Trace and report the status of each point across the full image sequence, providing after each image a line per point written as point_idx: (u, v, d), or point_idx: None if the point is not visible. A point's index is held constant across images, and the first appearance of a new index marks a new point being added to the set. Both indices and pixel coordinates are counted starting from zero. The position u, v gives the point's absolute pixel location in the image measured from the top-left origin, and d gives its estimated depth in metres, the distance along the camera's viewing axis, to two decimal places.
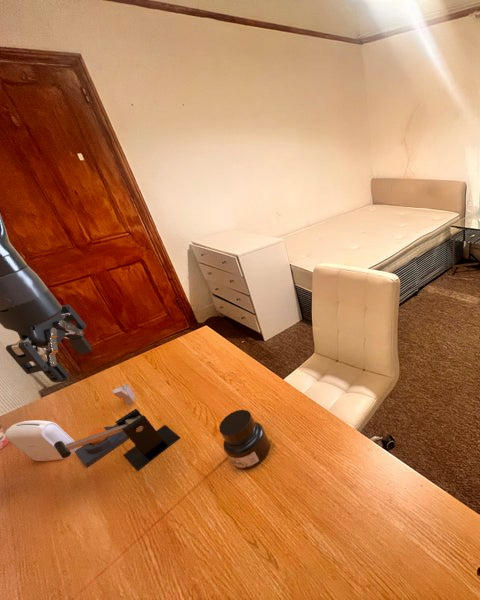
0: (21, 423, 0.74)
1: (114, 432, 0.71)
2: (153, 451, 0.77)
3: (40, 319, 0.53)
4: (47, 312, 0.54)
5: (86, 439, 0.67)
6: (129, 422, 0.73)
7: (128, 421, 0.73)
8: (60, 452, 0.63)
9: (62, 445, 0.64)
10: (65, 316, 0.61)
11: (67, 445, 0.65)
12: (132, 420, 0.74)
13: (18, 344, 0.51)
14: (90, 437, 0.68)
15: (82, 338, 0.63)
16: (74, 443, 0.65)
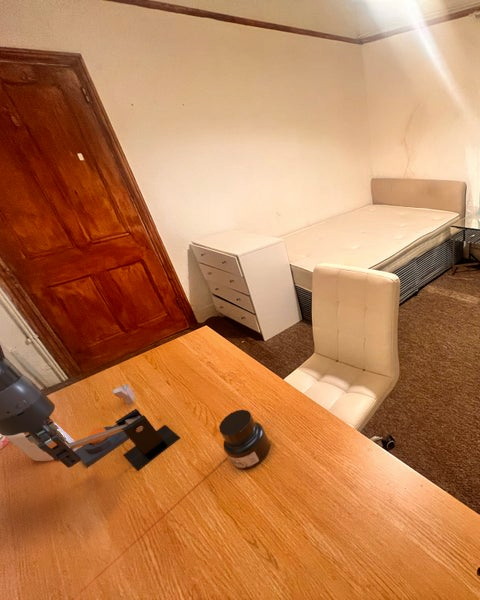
0: None
1: (114, 432, 0.71)
2: (153, 451, 0.77)
3: (49, 412, 0.59)
4: (51, 405, 0.60)
5: (86, 439, 0.67)
6: (129, 422, 0.73)
7: (128, 421, 0.73)
8: None
9: None
10: None
11: None
12: (132, 420, 0.74)
13: (51, 439, 0.57)
14: (90, 437, 0.68)
15: None
16: (74, 443, 0.65)
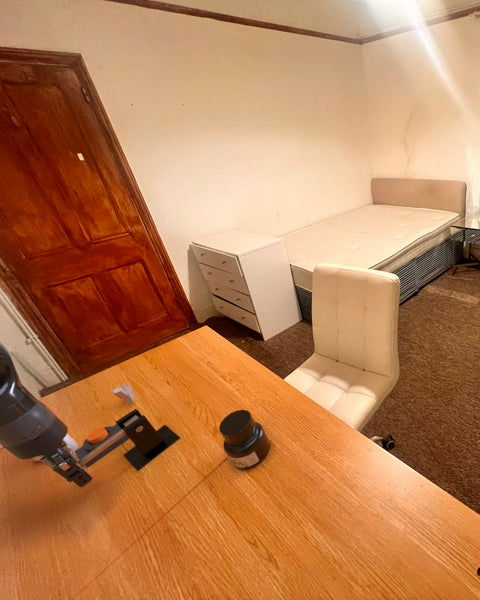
0: None
1: (117, 438, 0.72)
2: (153, 451, 0.77)
3: (62, 435, 0.61)
4: (64, 428, 0.62)
5: (92, 453, 0.68)
6: (127, 425, 0.73)
7: (126, 424, 0.73)
8: None
9: None
10: None
11: None
12: (129, 422, 0.73)
13: (65, 462, 0.60)
14: (95, 450, 0.69)
15: None
16: (81, 460, 0.67)
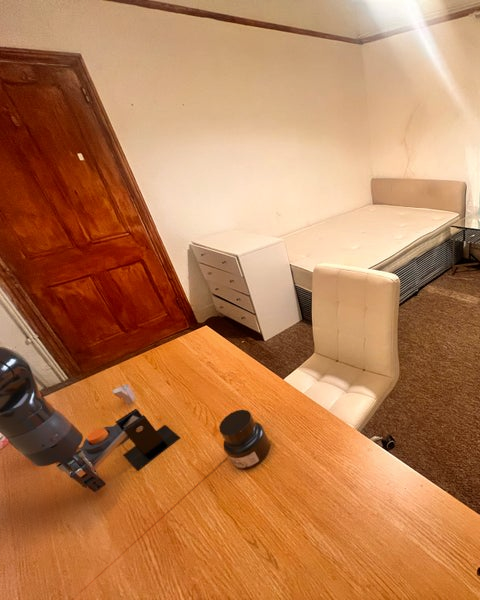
0: None
1: (120, 440, 0.72)
2: (153, 451, 0.77)
3: (78, 442, 0.64)
4: (79, 436, 0.65)
5: (100, 458, 0.70)
6: None
7: (125, 426, 0.73)
8: None
9: None
10: None
11: None
12: (128, 424, 0.73)
13: (81, 468, 0.62)
14: (102, 455, 0.70)
15: None
16: None
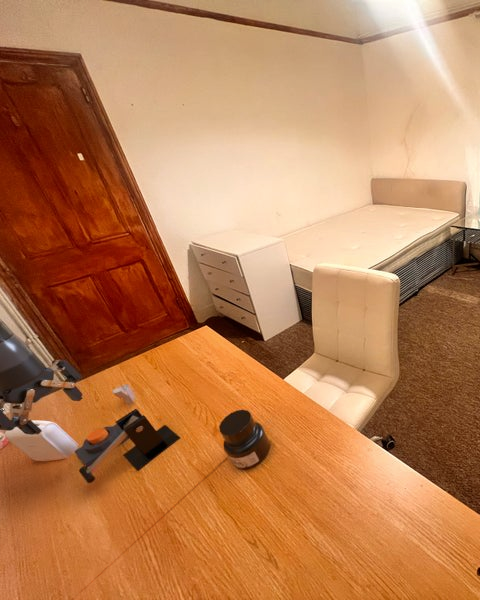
0: None
1: (121, 440, 0.72)
2: (153, 451, 0.77)
3: (12, 386, 0.59)
4: (19, 380, 0.59)
5: (100, 458, 0.70)
6: None
7: (125, 426, 0.73)
8: (85, 479, 0.67)
9: (84, 472, 0.69)
10: (59, 370, 0.68)
11: (88, 470, 0.69)
12: (128, 424, 0.73)
13: None
14: (102, 455, 0.70)
15: (72, 390, 0.69)
16: (92, 466, 0.69)
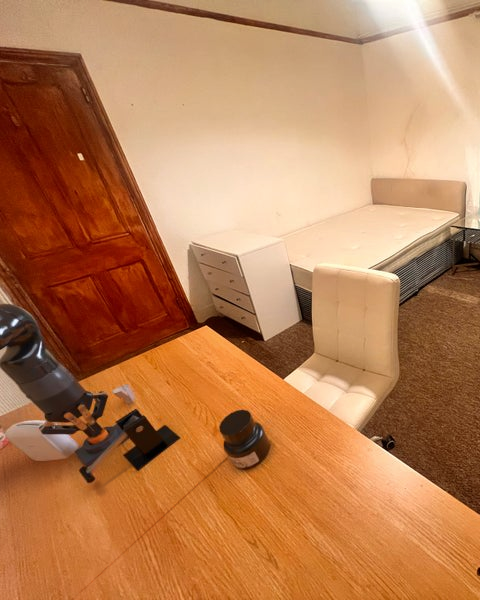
0: (21, 423, 0.74)
1: (121, 440, 0.72)
2: (153, 451, 0.77)
3: (50, 411, 0.68)
4: (56, 407, 0.68)
5: (100, 458, 0.70)
6: None
7: (125, 426, 0.73)
8: (85, 479, 0.67)
9: (84, 472, 0.69)
10: (96, 401, 0.76)
11: (88, 470, 0.69)
12: (128, 424, 0.73)
13: (41, 431, 0.69)
14: (102, 455, 0.70)
15: (92, 426, 0.76)
16: (92, 466, 0.69)
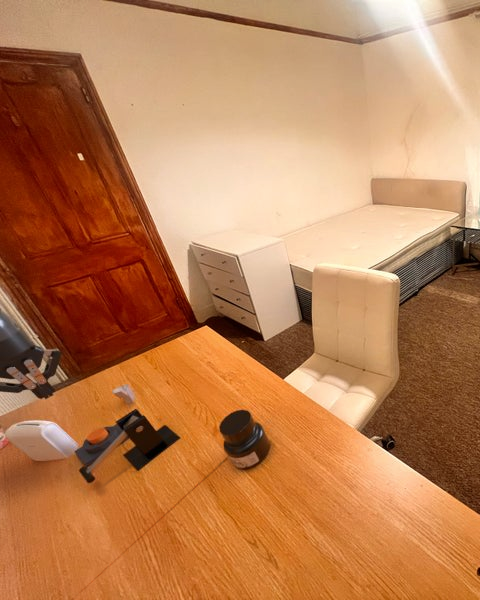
0: (21, 423, 0.74)
1: (121, 440, 0.72)
2: (153, 451, 0.77)
3: None
4: None
5: (100, 458, 0.70)
6: None
7: (125, 426, 0.73)
8: (85, 479, 0.67)
9: (84, 472, 0.69)
10: (47, 358, 0.68)
11: (88, 470, 0.69)
12: (128, 424, 0.73)
13: None
14: (102, 455, 0.70)
15: (42, 386, 0.68)
16: (92, 466, 0.69)
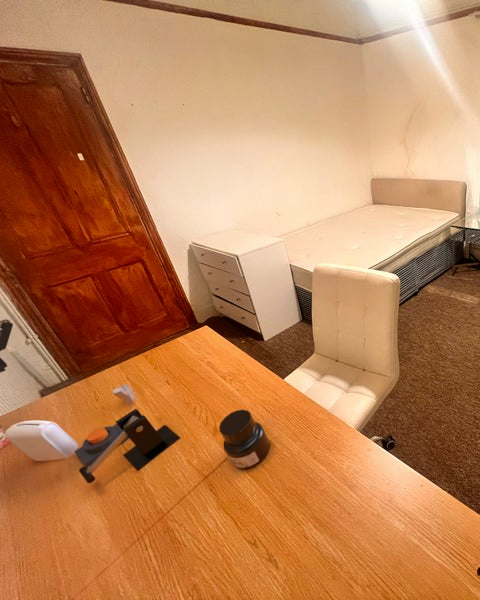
0: (21, 423, 0.74)
1: (121, 440, 0.72)
2: (153, 451, 0.77)
3: None
4: None
5: (100, 458, 0.70)
6: None
7: (125, 426, 0.73)
8: (85, 479, 0.67)
9: (84, 472, 0.69)
10: None
11: (88, 470, 0.69)
12: (128, 424, 0.73)
13: None
14: (102, 455, 0.70)
15: None
16: (92, 466, 0.69)
